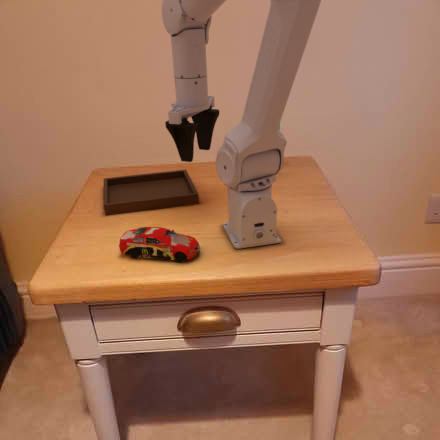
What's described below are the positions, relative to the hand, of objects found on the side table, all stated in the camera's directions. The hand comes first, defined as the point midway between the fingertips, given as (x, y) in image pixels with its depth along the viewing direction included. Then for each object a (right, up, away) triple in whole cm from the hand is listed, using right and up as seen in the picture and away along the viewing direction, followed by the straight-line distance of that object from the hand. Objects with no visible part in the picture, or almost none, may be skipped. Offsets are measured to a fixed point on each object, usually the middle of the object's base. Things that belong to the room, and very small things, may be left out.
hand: (196, 155), depth 81 cm
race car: (-5, -20, -12) cm, 24 cm away
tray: (-10, -6, +9) cm, 15 cm away
